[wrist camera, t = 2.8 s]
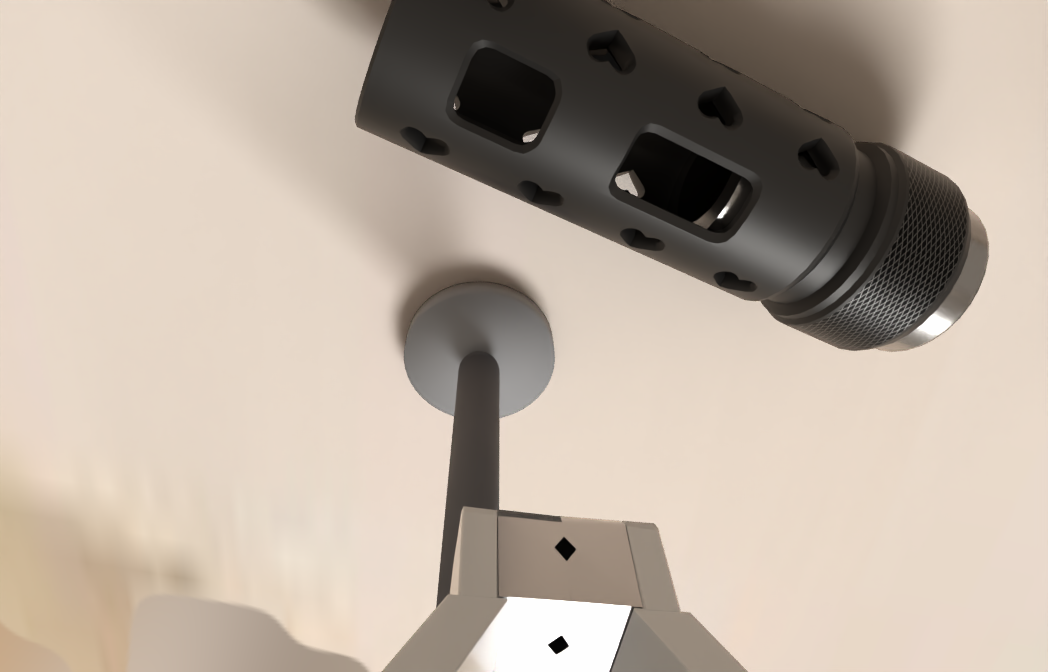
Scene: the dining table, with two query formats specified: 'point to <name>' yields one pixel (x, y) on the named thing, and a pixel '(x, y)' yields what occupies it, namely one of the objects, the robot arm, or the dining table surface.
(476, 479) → the cord post
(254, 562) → the dining table surface
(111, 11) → the dining table surface
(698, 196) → the muzzle brake
